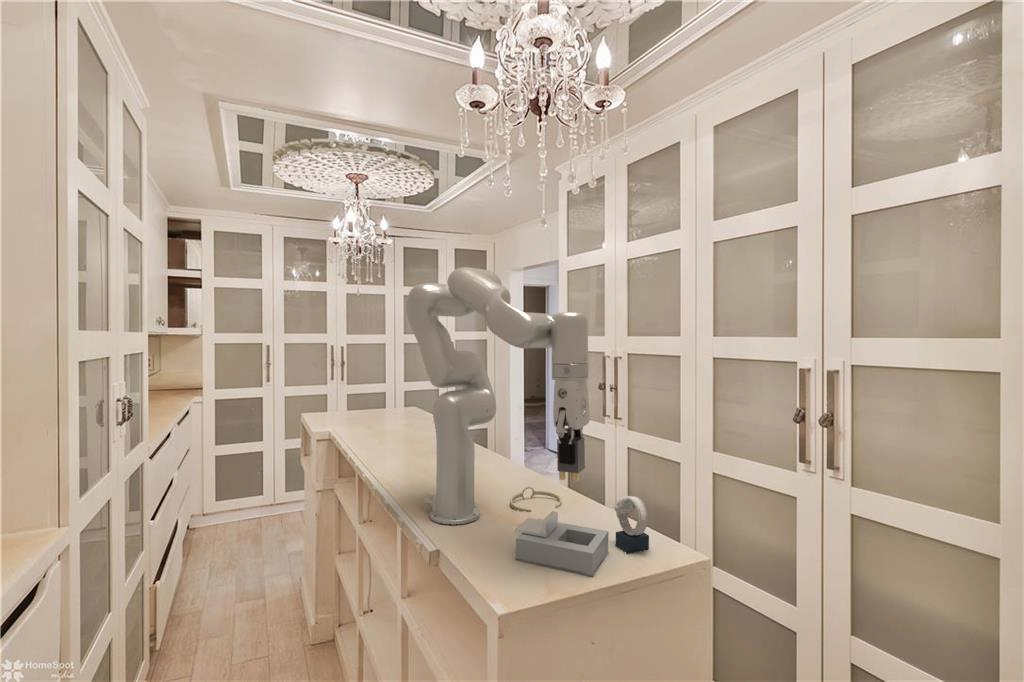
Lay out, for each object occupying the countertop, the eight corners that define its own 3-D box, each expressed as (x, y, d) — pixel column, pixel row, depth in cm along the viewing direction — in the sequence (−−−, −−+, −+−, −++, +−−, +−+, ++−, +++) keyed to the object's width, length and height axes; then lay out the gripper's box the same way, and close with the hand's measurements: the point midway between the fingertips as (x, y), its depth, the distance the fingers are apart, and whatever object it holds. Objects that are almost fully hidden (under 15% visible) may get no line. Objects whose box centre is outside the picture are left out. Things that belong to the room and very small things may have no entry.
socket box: (516, 560, 103) (516, 538, 103) (538, 538, 114) (538, 518, 113) (592, 576, 96) (592, 553, 96) (608, 552, 107) (608, 531, 107)
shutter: (514, 531, 105) (514, 517, 105) (527, 520, 112) (528, 506, 112) (545, 537, 102) (546, 522, 102) (557, 525, 109) (557, 511, 109)
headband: (519, 506, 129) (503, 489, 138) (518, 520, 129) (502, 502, 138) (568, 499, 135) (550, 483, 144) (567, 512, 135) (549, 495, 144)
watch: (630, 538, 114) (631, 490, 114) (654, 553, 107) (655, 501, 106) (610, 542, 112) (610, 493, 111) (632, 557, 104) (633, 504, 104)
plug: (557, 479, 103) (557, 431, 103) (564, 474, 107) (564, 428, 107) (578, 482, 101) (577, 433, 101) (584, 476, 105) (584, 429, 105)
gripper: (574, 375, 95) (575, 472, 95) (598, 370, 110) (600, 454, 110) (537, 374, 98) (538, 468, 98) (566, 369, 113) (567, 451, 113)
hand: (571, 459), depth 104 cm, fingers closed on plug, 4 cm apart
